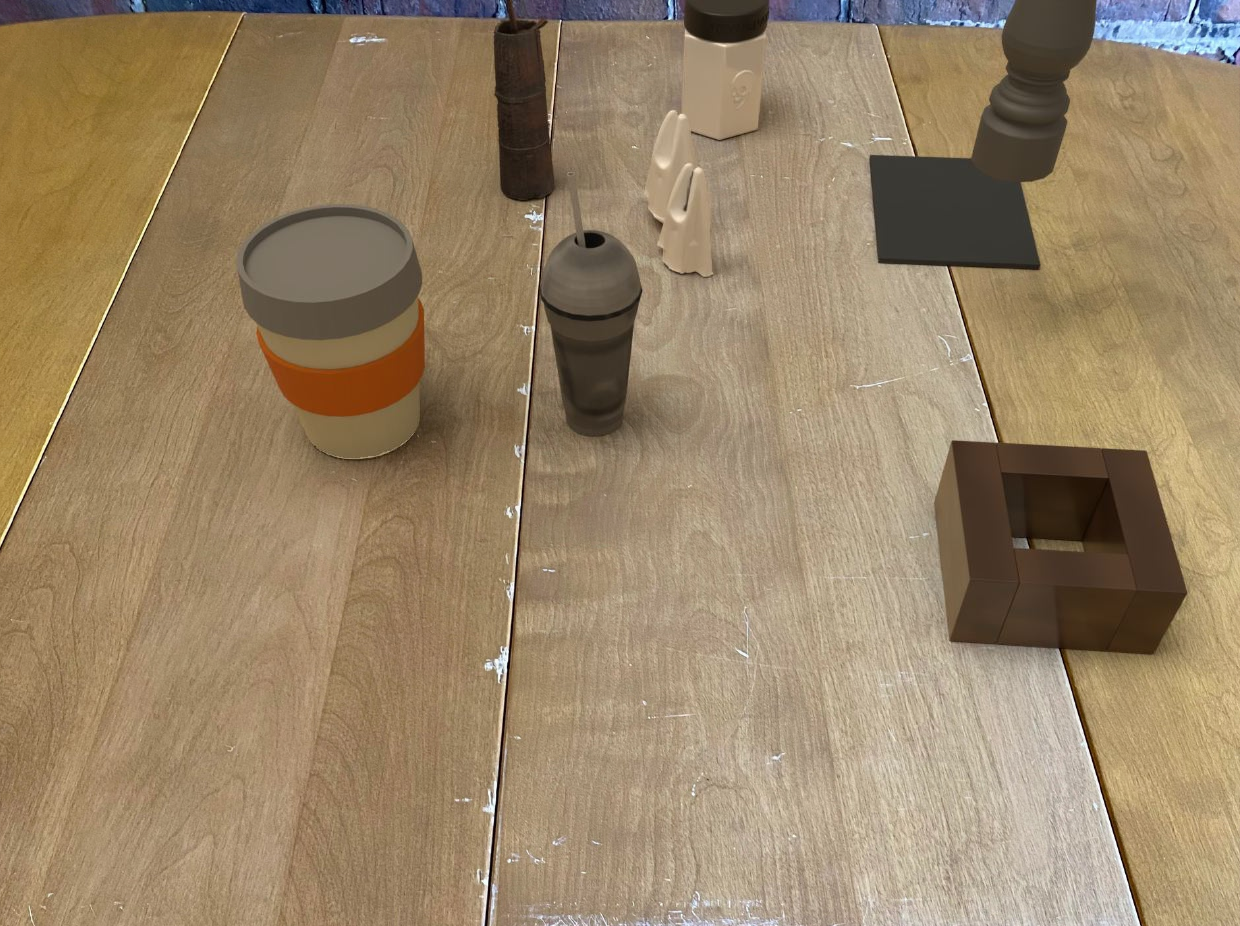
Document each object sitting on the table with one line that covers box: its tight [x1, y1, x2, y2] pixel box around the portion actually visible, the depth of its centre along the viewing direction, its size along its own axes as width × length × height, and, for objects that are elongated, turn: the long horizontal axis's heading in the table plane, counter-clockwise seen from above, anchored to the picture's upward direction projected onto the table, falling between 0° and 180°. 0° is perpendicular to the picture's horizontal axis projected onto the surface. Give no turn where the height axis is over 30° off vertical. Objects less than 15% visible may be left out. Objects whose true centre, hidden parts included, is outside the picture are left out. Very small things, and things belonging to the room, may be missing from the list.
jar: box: [680, 0, 771, 141], centre depth 117 cm, size 9×8×12 cm
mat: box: [868, 154, 1041, 270], centre depth 109 cm, size 14×18×1 cm
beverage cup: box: [539, 171, 643, 437], centre depth 84 cm, size 7×7×20 cm
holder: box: [933, 439, 1188, 655], centre depth 78 cm, size 13×13×6 cm
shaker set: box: [642, 109, 714, 278], centre depth 103 cm, size 12×4×11 cm, turn 10°
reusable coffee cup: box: [235, 203, 426, 458], centre depth 86 cm, size 12×13×15 cm
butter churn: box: [493, 0, 556, 201], centre depth 103 cm, size 9×10×28 cm
